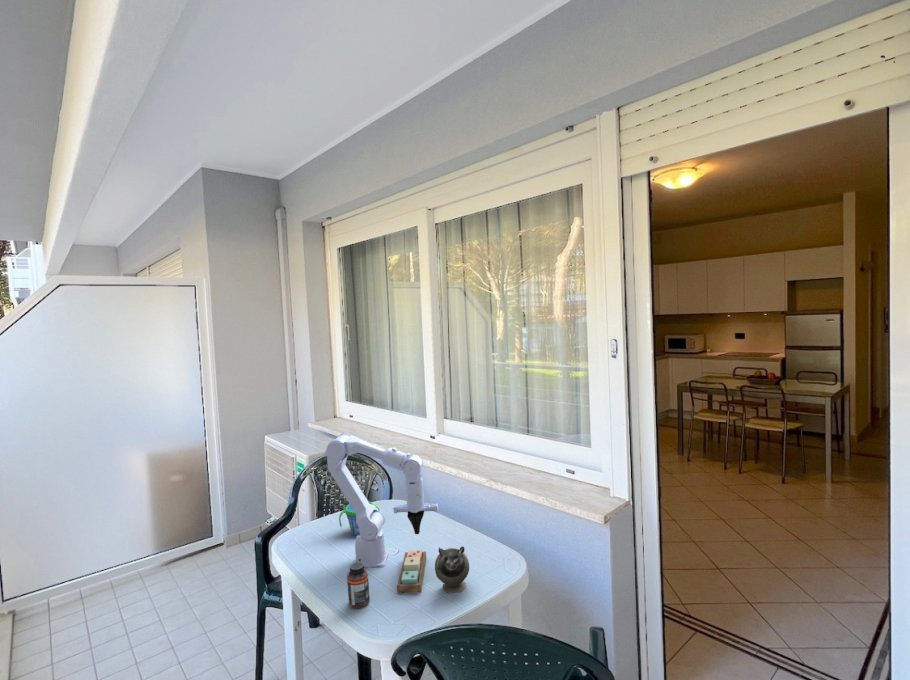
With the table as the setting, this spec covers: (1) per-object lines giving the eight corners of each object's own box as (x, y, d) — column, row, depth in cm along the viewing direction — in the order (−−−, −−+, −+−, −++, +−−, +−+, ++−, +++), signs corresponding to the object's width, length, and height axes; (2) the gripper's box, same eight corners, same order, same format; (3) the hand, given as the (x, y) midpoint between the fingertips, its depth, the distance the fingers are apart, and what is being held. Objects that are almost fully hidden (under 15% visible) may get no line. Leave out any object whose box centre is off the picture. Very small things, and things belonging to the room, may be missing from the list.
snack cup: (339, 540, 175) (337, 514, 174) (341, 528, 185) (339, 502, 185) (381, 535, 177) (380, 509, 177) (381, 523, 188) (379, 498, 187)
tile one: (404, 574, 147) (403, 564, 147) (406, 566, 152) (405, 556, 152) (419, 574, 147) (418, 563, 147) (420, 566, 152) (419, 556, 151)
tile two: (402, 589, 141) (401, 579, 141) (404, 581, 146) (403, 570, 145) (417, 589, 141) (416, 578, 141) (418, 580, 146) (418, 570, 145)
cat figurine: (443, 601, 135) (476, 591, 139) (439, 561, 134) (473, 552, 138) (432, 583, 145) (463, 574, 148) (429, 545, 144) (460, 537, 147)
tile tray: (397, 593, 140) (397, 585, 140) (405, 559, 159) (405, 552, 159) (421, 592, 140) (420, 584, 140) (426, 558, 159) (426, 551, 159)
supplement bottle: (350, 597, 139) (347, 560, 138) (370, 595, 140) (368, 558, 139) (347, 610, 133) (344, 571, 132) (368, 608, 134) (366, 569, 133)
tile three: (407, 567, 153) (406, 557, 153) (408, 560, 158) (408, 550, 158) (421, 566, 153) (420, 556, 153) (422, 559, 158) (421, 549, 158)
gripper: (390, 498, 152) (393, 539, 153) (435, 496, 152) (438, 537, 153) (394, 490, 160) (397, 529, 160) (437, 488, 159) (439, 527, 160)
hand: (417, 532), depth 157 cm, fingers closed
